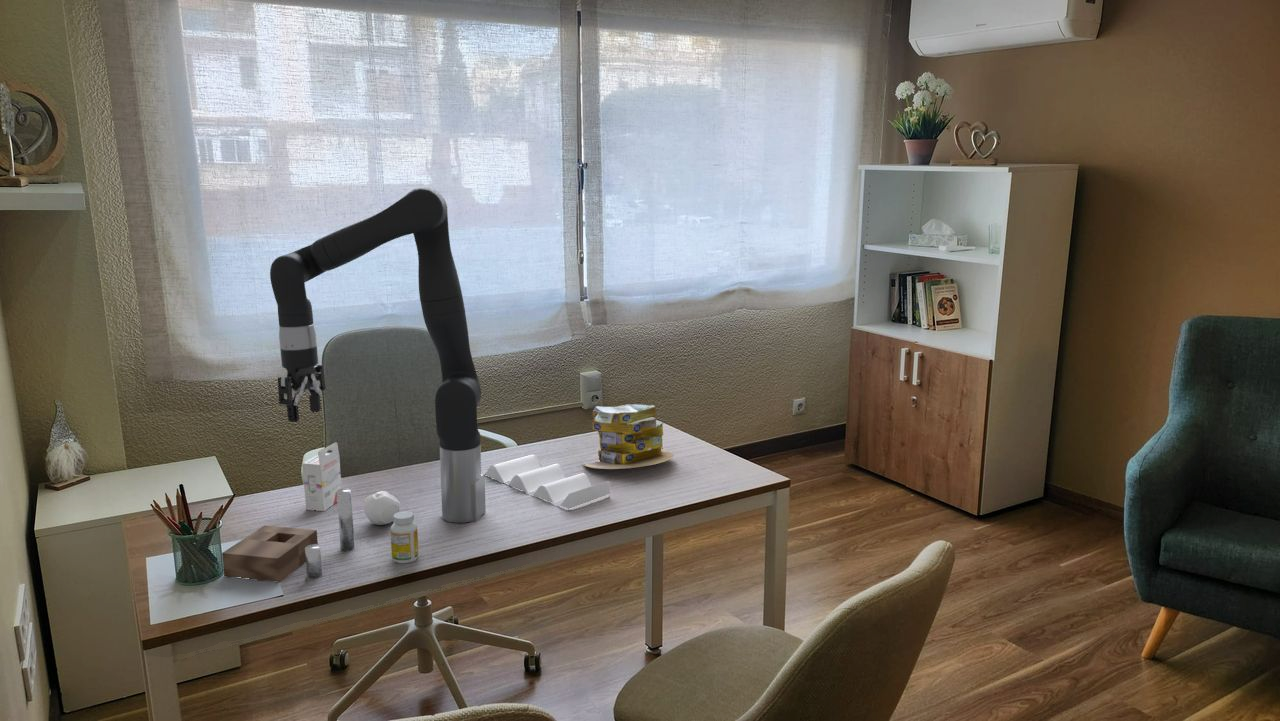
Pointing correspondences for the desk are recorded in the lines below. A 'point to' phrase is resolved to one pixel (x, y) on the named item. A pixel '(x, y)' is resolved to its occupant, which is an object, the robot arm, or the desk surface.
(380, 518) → the motion sensor
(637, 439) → the stack of yellow boxes
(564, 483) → the white wavy rack
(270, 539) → the socket block
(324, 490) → the ink cartridge box
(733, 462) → the desk surface
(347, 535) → the long pin
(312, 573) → the short pin
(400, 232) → the robot arm
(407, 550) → the supplement bottle
